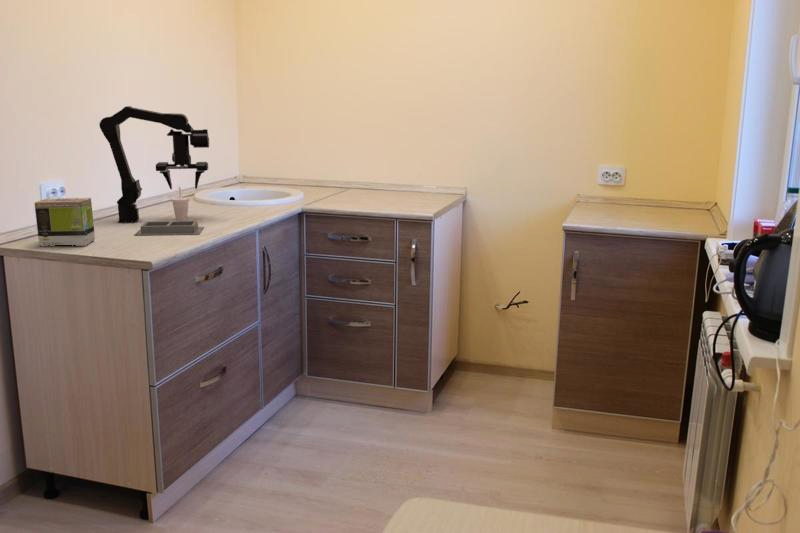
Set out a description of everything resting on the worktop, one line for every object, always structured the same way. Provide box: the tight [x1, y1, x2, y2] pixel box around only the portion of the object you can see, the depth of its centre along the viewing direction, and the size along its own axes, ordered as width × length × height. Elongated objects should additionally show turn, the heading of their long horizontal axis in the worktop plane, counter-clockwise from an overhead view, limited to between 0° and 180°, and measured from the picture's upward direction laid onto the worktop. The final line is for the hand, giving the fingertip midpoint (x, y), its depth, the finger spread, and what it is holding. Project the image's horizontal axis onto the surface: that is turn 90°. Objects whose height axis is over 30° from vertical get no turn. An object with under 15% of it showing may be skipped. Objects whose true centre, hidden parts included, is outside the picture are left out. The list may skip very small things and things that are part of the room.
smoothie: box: [171, 186, 190, 221], centre depth 293 cm, size 6×6×14 cm
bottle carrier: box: [134, 220, 205, 237], centre depth 280 cm, size 22×13×3 cm, turn 97°
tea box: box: [34, 197, 96, 247], centre depth 258 cm, size 15×10×15 cm, turn 92°
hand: (183, 189), depth 300 cm, fingers open, 9 cm apart
